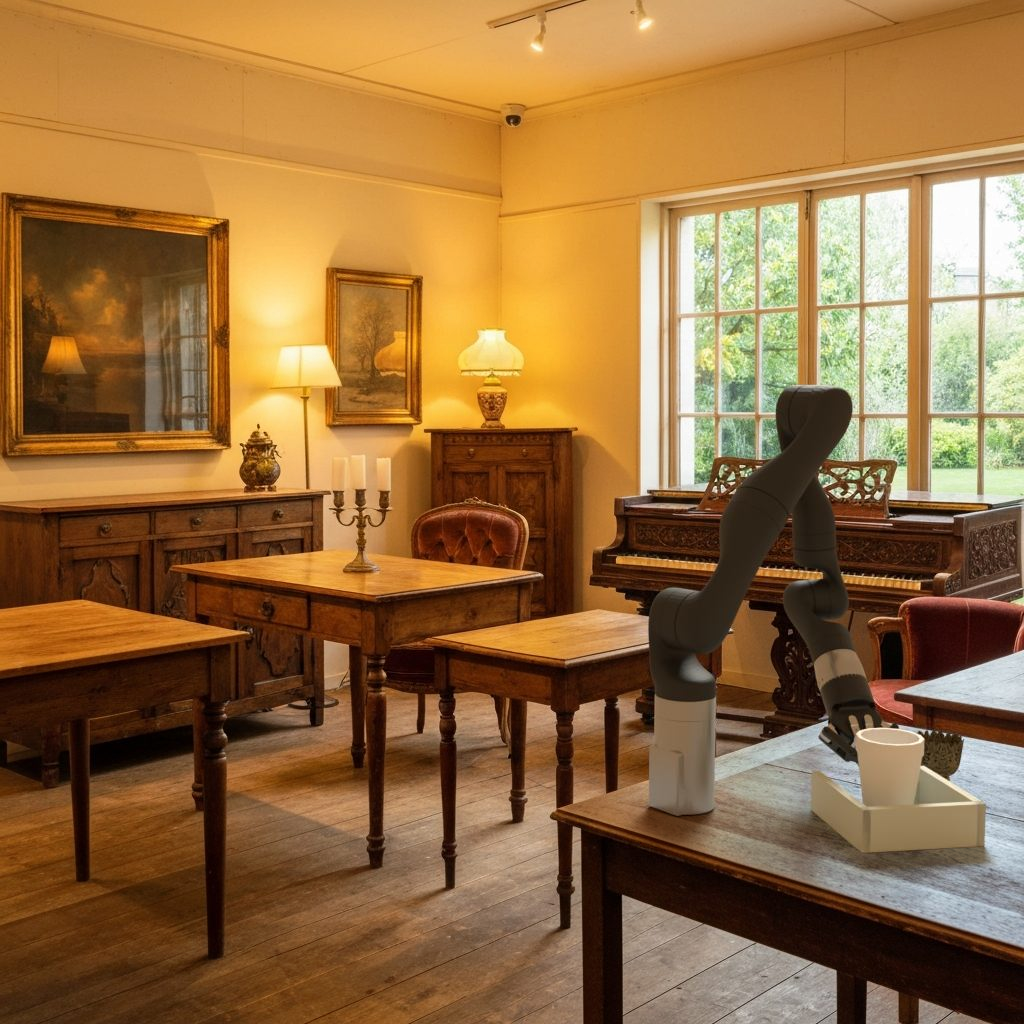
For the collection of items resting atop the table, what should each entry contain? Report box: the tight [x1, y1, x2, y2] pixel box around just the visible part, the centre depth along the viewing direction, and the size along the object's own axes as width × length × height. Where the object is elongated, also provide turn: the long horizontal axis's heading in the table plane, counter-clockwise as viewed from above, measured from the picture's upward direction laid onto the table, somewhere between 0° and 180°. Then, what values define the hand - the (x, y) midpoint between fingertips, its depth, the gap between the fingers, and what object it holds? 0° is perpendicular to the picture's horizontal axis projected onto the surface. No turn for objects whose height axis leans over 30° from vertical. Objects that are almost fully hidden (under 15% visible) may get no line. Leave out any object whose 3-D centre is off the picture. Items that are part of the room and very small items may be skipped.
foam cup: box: [856, 728, 924, 807], centre depth 179 cm, size 10×9×13 cm
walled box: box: [810, 766, 987, 854], centre depth 178 cm, size 18×18×6 cm
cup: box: [915, 729, 965, 782], centre depth 198 cm, size 8×7×8 cm
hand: (875, 783), depth 184 cm, fingers closed
